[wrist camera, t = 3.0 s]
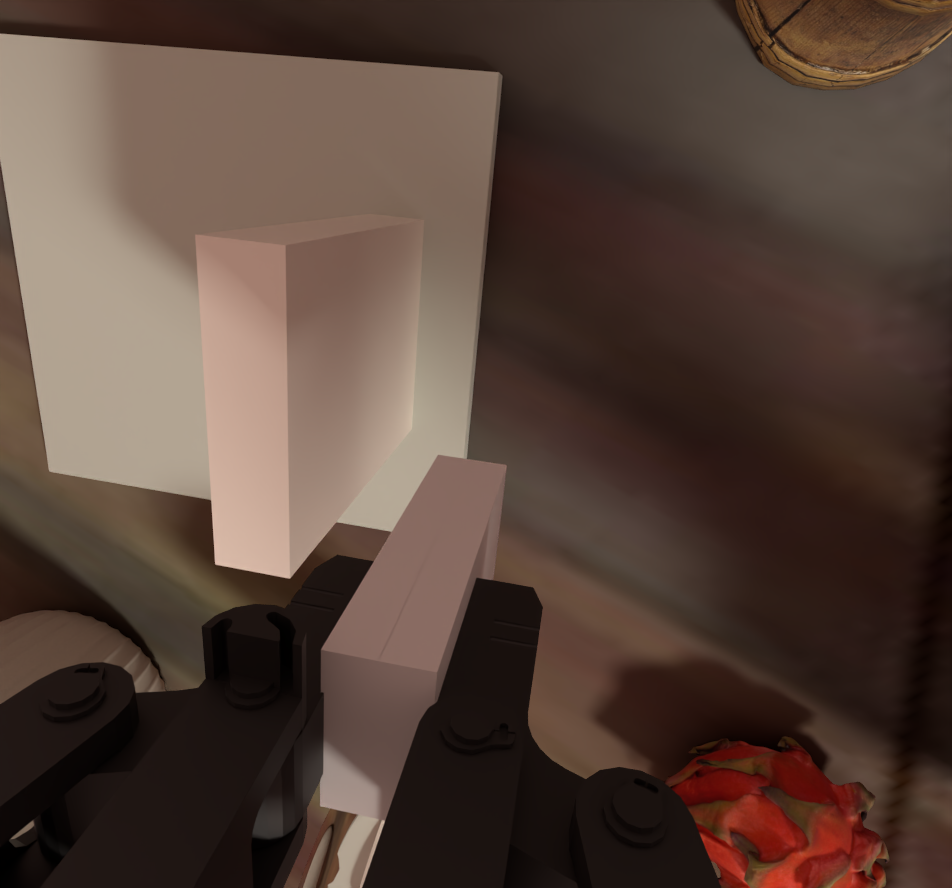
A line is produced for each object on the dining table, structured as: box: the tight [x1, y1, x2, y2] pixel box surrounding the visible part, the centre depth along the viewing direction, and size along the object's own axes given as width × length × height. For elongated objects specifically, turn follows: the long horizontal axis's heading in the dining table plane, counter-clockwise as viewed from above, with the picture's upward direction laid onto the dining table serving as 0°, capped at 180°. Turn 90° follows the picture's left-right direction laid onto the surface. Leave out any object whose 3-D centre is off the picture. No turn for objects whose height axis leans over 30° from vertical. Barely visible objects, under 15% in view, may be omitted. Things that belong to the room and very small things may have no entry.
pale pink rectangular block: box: [195, 214, 424, 579], centre depth 26 cm, size 3×10×14 cm, turn 175°
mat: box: [0, 34, 503, 532], centre depth 34 cm, size 24×22×1 cm
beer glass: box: [298, 808, 385, 888], centre depth 34 cm, size 7×7×15 cm
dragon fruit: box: [664, 737, 891, 888], centre depth 35 cm, size 8×8×12 cm
